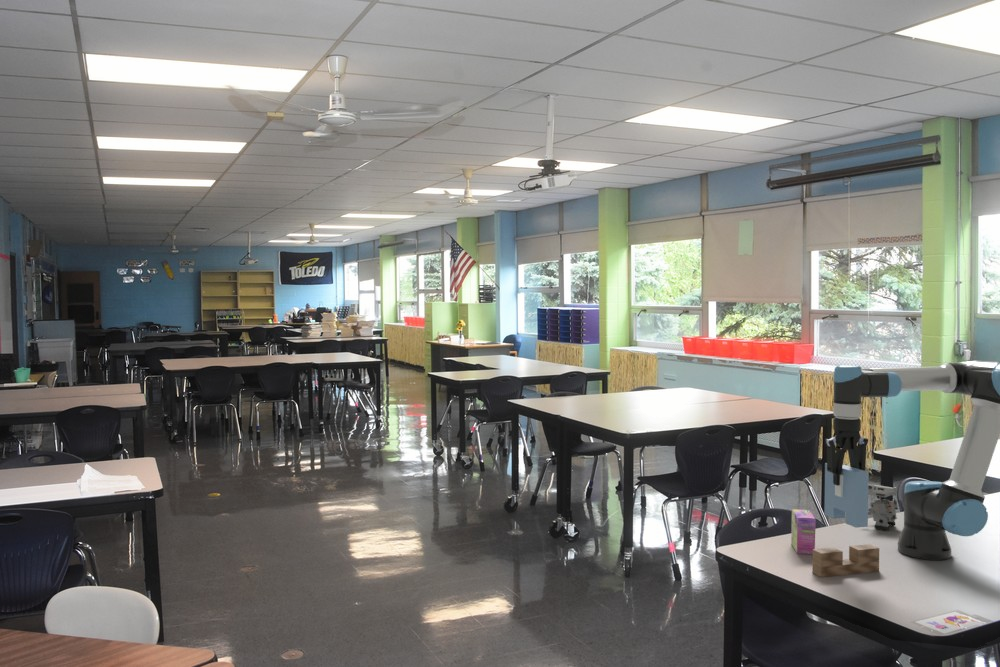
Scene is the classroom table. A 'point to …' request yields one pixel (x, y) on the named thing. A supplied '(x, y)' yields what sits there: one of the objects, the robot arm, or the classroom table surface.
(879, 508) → the figurine
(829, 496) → the board
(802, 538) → the box
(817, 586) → the classroom table surface
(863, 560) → the rail
